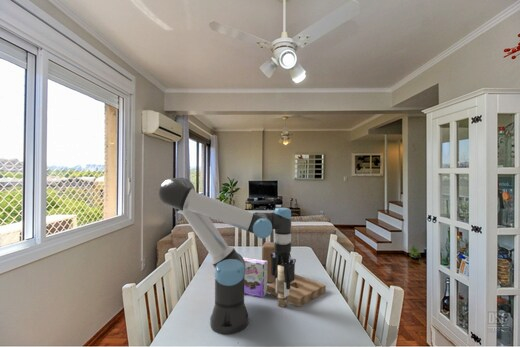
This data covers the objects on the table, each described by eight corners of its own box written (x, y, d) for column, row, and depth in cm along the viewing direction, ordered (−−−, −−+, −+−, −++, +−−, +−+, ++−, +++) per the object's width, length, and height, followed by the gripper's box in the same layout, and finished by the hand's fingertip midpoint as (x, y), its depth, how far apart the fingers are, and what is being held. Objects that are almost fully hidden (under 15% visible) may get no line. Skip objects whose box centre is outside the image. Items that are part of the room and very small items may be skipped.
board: (298, 307, 116) (298, 299, 116) (266, 292, 131) (266, 285, 131) (325, 292, 132) (325, 285, 132) (294, 280, 146) (294, 273, 146)
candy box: (237, 293, 130) (237, 260, 130) (242, 288, 135) (242, 256, 135) (263, 298, 124) (263, 263, 125) (267, 293, 130) (267, 260, 130)
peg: (282, 308, 115) (283, 268, 115) (275, 305, 118) (275, 265, 118) (289, 305, 118) (289, 265, 118) (281, 301, 121) (282, 263, 121)
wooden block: (279, 284, 141) (279, 247, 141) (261, 282, 143) (261, 246, 143) (281, 277, 150) (281, 242, 150) (264, 275, 152) (264, 241, 152)
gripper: (303, 244, 114) (303, 297, 114) (274, 237, 127) (274, 285, 127) (292, 247, 109) (292, 303, 109) (263, 240, 122) (263, 290, 122)
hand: (282, 293), depth 118 cm, fingers closed on peg, 4 cm apart
